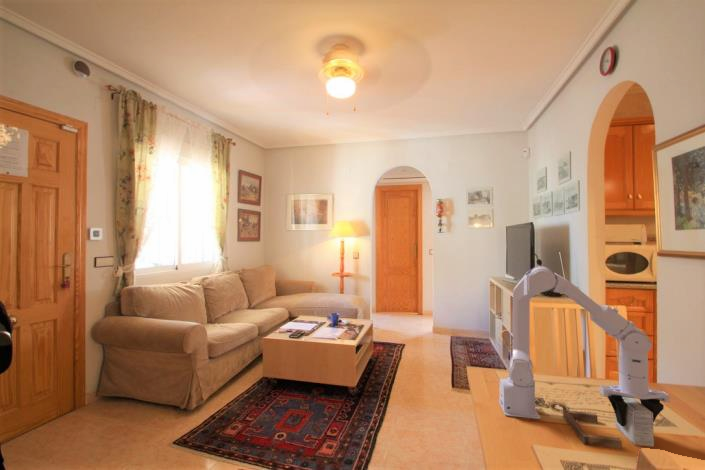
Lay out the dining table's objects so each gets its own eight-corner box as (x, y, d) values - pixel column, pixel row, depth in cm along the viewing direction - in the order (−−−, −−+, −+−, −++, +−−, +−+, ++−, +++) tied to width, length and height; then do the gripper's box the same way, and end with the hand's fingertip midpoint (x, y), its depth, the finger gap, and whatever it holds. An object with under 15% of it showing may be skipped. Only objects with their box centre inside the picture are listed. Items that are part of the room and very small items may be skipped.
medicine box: (654, 448, 77) (654, 413, 77) (633, 445, 78) (633, 410, 78) (633, 428, 85) (633, 397, 85) (614, 426, 86) (614, 395, 86)
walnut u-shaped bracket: (584, 444, 79) (584, 436, 79) (562, 416, 91) (562, 409, 91) (622, 449, 77) (621, 441, 77) (595, 420, 89) (595, 413, 89)
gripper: (655, 369, 84) (655, 420, 84) (593, 365, 87) (594, 413, 87) (675, 381, 77) (676, 436, 77) (608, 376, 80) (608, 428, 80)
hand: (634, 425), depth 82 cm, fingers open, 5 cm apart
